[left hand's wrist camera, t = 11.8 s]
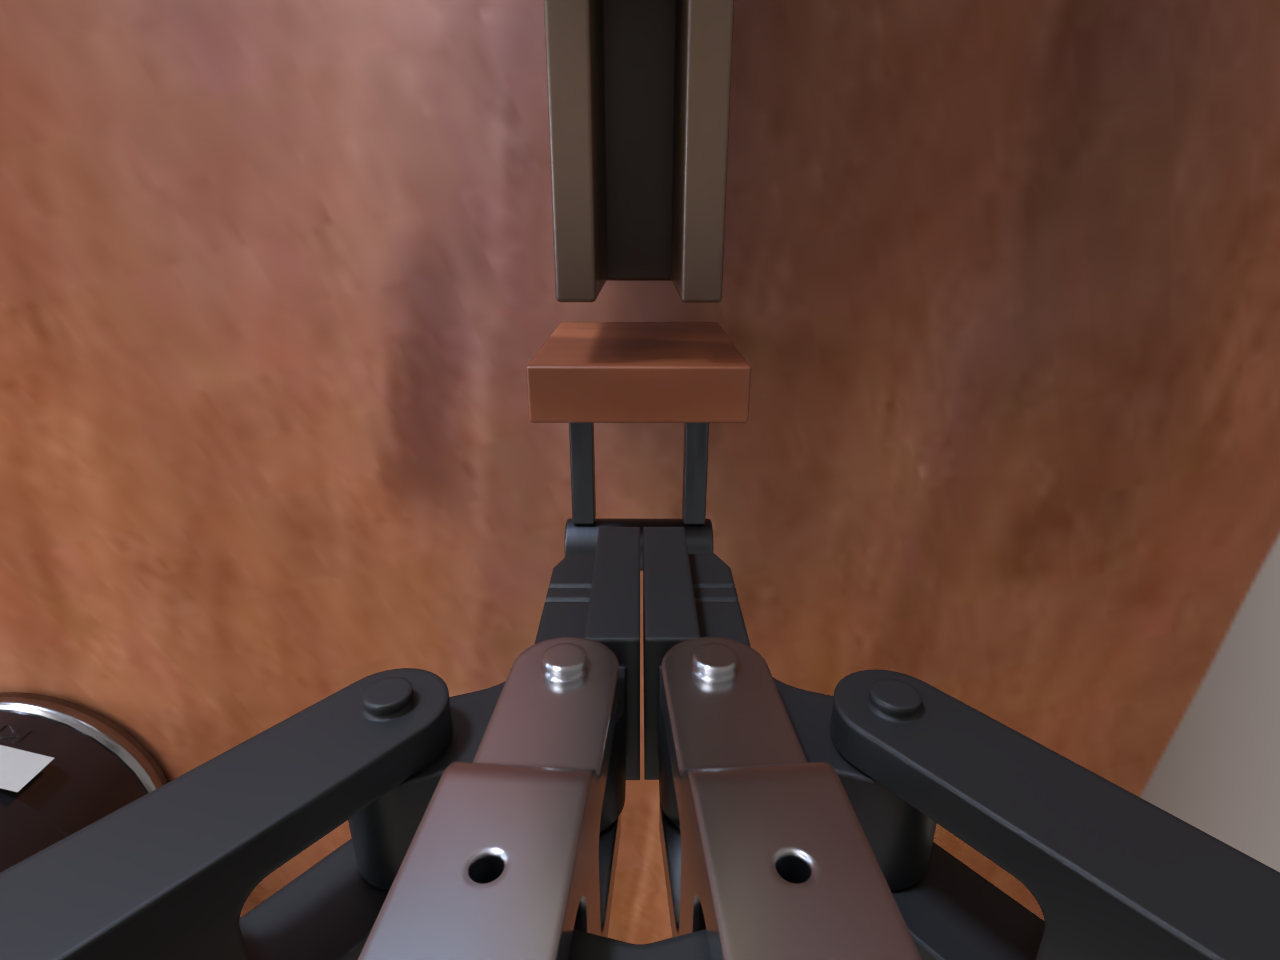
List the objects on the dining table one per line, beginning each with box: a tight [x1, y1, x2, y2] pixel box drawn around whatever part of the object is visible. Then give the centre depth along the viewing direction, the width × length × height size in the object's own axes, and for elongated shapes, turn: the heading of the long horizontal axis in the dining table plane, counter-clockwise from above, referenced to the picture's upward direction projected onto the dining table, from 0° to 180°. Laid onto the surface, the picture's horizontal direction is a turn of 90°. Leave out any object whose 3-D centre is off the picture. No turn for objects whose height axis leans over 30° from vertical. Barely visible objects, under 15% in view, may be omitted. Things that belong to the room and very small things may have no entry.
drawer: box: [526, 0, 751, 571], centre depth 15 cm, size 25×5×6 cm, turn 0°
